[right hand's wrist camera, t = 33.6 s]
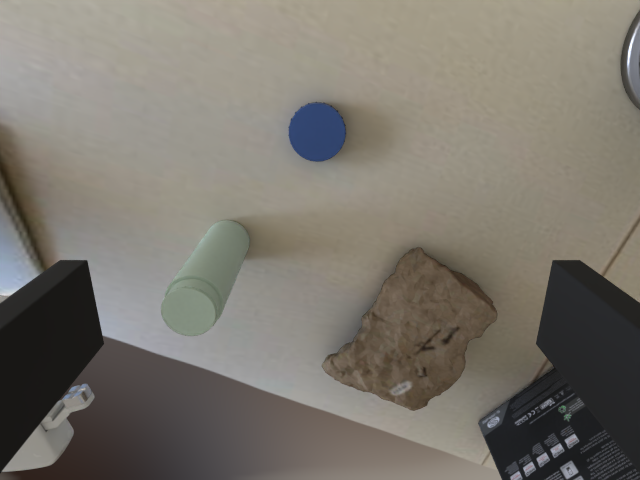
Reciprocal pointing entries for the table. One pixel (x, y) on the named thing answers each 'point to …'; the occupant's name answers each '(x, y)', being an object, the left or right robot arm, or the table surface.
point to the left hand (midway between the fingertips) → (63, 353)
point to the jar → (206, 280)
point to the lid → (317, 131)
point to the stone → (414, 333)
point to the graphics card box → (552, 437)
